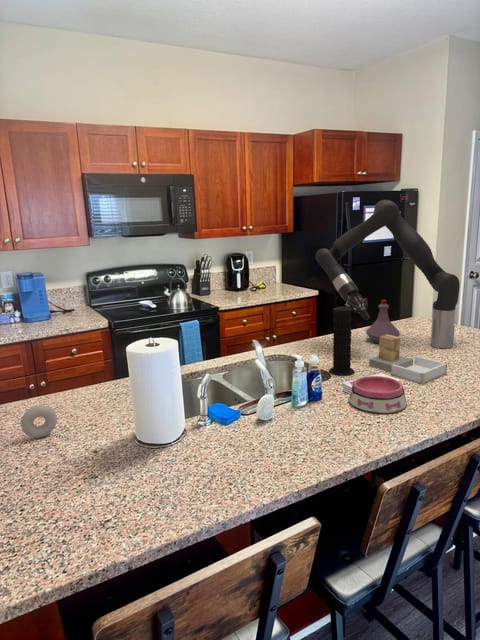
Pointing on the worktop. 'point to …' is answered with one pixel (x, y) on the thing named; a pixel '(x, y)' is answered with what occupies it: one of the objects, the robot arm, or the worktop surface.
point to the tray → (420, 370)
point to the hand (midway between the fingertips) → (367, 318)
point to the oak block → (389, 347)
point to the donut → (32, 415)
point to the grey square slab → (389, 363)
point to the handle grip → (342, 342)
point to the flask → (382, 325)
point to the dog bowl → (377, 395)
